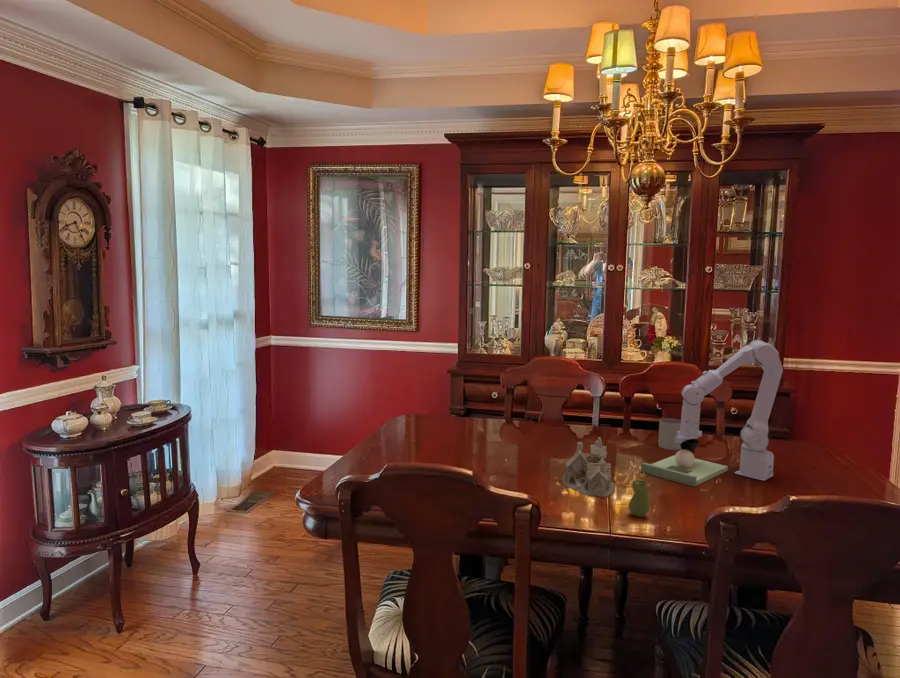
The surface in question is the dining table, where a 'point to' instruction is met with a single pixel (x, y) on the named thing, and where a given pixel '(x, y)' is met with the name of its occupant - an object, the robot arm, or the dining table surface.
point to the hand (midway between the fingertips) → (686, 460)
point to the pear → (639, 499)
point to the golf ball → (684, 458)
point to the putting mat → (684, 471)
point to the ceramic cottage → (589, 471)
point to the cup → (669, 433)
